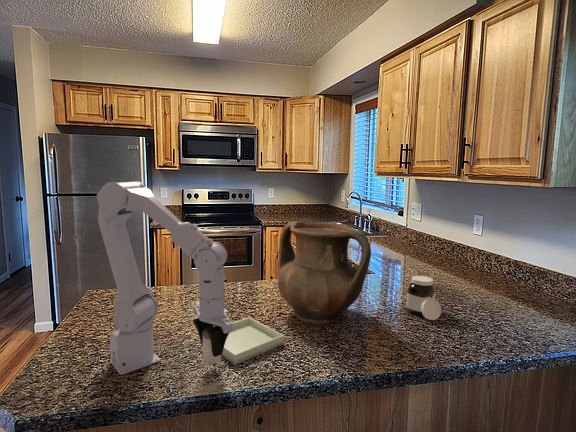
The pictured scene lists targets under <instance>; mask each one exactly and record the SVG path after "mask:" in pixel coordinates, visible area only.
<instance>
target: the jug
mask: <svg viewBox="0 0 576 432" xmlns="http://www.w3.org/2000/svg"><path fill="white" fill-rule="evenodd" d="M280 232H281V233H280V235H279V242H278V243H279V245H278V279H277V286H278V287H277V288H278V291H279V293H280V294H281V296H282V297H283V299H284V300H285V301H286V302H287V304H288V305H289V307H291V309H292V310H293V315H294V316H295V317H296V318H297V319H299V320H300V321H301V322H304V323H309V324H310V323H311V324H321V325H323V324H325V325H326V324H331V323H334V322H338V321H339V320H340V319H341V318H342V316H343V313H344V312H345V311H347V310H348V308H350V307H351V306H352V305H353V304H354V303H355V302H356V300H357V299H358V298H359V296H360V295H361V293H362V290H363V288H364V284H365V283H364V282H365V280H366V277H367V275H368V270H369V266H370V263H371V262H370V261H371V255H372V249H371V244H370V241H369V240H368V238H367V236H366V235H365V234H364V233H363V232H361V231H360V230H359V229H358V230H357V229H356V228H354V227H351V226H350V225H347V224H339V223H334V222H333V223H332V222H302V221H291V222H287V224H285V225H284V226H283V228H282V230H281V231H280ZM292 234H293V236H295V250H294V248H293V247H294V246H292V243H291V239H292V238H291V235H292ZM350 239H351V240H355V241H356V242H357V243H358V244H359V246H360V248H361V257H360V262H359V264H358V267H357V269H356V268H355V267H354V266H352V264H351V263H349V260H348V257H349V255H348V250H349V247H348V246H349V242H350Z"/></svg>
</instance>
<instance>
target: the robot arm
mask: <svg viewBox="0 0 576 432" xmlns="http://www.w3.org/2000/svg"><path fill="white" fill-rule="evenodd" d="M96 199H97V203H98V215H97V221H98V226H99V230H100V232H101V233H100V234H101V237H102V240H103V244H104V247H105V251H106V254H107V258H108V261H109V265H110V267H111V272H112V275H113V279H114V282H115V285H116V289H117V294H116V296H115V299H114V301H113V303H112V308H113V318H112V319H113V322H114V323H113V324H114V326H115V327H116V328H117V330H116V331H112V333H110V335H109V350H110V360H109V361H110V363H111V365H112V367H114V370H116V371H117V373H118V375H121V376H122V375H125V374H128V373H130V372H133V371H137V370H139V369H142V368H145V367H148V366H150V365H154V364H156V363H159V362H160V361H161V358H160V357H159V356H158V355H157V354H156V353H155V347H154V316H156V314H157V312H158V309H159V308H158V307H159V305H158V301H157V300H156V298H155V297H154V296H153V295H152V293H151V289H150V288H149V287H147V286H146V285H144V284H143V282H142V278H141V274H140V271H139V269H138V264H137V261H136V258H135V253H134V250H133V247H132V243H131V240H130V235H129V232H128V229H127V226H126V222H127V220H128V219H129V218H130V216H131V215H132V213H134V212H136V213H137V212H139V213H144V214H145V215H146V216H148V217H149V218H151V219H152V220H153V221H154V222H156V223H157V224H158V225H160V226H161V227H163V228H164V230H166V231H168V232H169V233H170V235H171V241H172V242H173V243H174V244H175V245H176V246H177V247H178V248H180V249H181V250H182V251H183V252H184V253H185V254H187V255H188V256H189V257H190V258H192V259H193V264H194V265H195V268H196V269H197V271H198V297H199V298H198V302H199V304H195V305H193V306H192V307H193V313H192V314H194V315H196V316H197V318H193V319H192V324H193V325H194V327H195V328H196V331H197V334H198V336H199V340H200V345H201V347H202V348H201V349H203V334H202V332H203V330H204V329H206V328H209V327H212V328H209V329H206V331H207V333H208V335H209V337H210V340H211V346H212V354H213V356H214V357H217V356H219V355H222V353H223V349H224V345H225V342H226V339H227V337H228V335H229V333H230V332H232V331H233V322H232V321H231V320H230V319H229V317H228V315H229V311H228V309H226V308H225V266H224V264H225V263H226V261H227V259H228V251H227V249H226V247H225V246H224V245H223V244H222V243H221V242H218V241H214V239H212V238H211V237H210V238H209V237H208V236H206V235H205V234H204V233H203V232H202V231H200V229H198V228H199V226H198V225H197V224H196V223H191V222H190V221H189V222H188V221H185V222H183V221H181V220H180V219H179V218H178V217H177V216H176V215H175V214H174V213H173V212H172V211H171V210H169V209H168V208H167V207H166V206H165V205H164V204H163V203H162V202H161V201H160V200H159V199H158V198H157V197H155V195H154V194H153V192H152V190H151V189H150V188H147V187H146V186H145V185H144V184H143V183H142V182H140V181H137V180H135V181H134V180H132V181H122V182H121V181H120V182H116V181H115V182H114V181H110V182H106V183H105V184H104V185H103V186H102V187H101V189H100V190H99V192H97V194H96ZM220 266H221V267H220Z"/></svg>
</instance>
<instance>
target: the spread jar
mask: <svg viewBox="0 0 576 432" xmlns="http://www.w3.org/2000/svg"><path fill="white" fill-rule="evenodd" d="M407 288H408V289H407V293H406V308H407V310H408V311H409V312H410V313H412V314H414V315H417V316H423V317H424V319H427V320H428V321H429V320H430V321H436V320H438V319H439V317H440V316H441V313H442V307H441V304H440V302H439V301H438V300H437V299H436V291H437V290H436V287H435V286H434V278H432V277H429V276H426V275H414V276H412V277H411V283H410V284H409V286H408V287H407Z"/></svg>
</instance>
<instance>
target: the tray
mask: <svg viewBox="0 0 576 432" xmlns="http://www.w3.org/2000/svg"><path fill="white" fill-rule="evenodd" d="M232 323H233V331H232V332H230V333H229V335H228V337H227V339H226V342H225V345H224V349H223V353H222V357H224V358H225V359H226V360H228V361H229V362H231V363H232V364H233V365H238V364H240V363H242V362H245V361H247V360H249V359H252V358H254V357H257V356H259V355H261V354H264V353H266V352H268V351H271V350H273V349H276V348H277V347H280V346H282V345H283V346H284V344H285V335H284V334H282V333H281V332H278V331H277V330H274V329H273V328H271V327H269V326H267V325H265V324H263V323H261V322H259V321H257V320H256V319H255V318H252V317H250V316H249V317H245V318H243V319H239V320H236V321H233V322H232Z"/></svg>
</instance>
